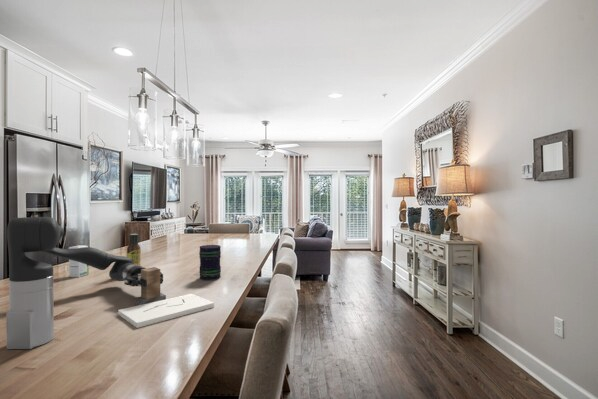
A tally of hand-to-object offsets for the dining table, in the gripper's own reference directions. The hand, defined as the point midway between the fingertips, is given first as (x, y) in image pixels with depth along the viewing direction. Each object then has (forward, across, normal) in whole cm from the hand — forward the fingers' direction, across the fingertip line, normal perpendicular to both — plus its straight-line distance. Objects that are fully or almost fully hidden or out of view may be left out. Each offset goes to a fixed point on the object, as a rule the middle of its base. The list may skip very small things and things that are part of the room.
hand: (153, 282), depth 122 cm
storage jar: (-19, +35, +8) cm, 40 cm away
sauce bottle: (-53, +12, +8) cm, 55 cm away
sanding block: (-3, 0, +8) cm, 8 cm away
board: (+11, 0, +8) cm, 14 cm away
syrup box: (-69, -8, +8) cm, 69 cm away
